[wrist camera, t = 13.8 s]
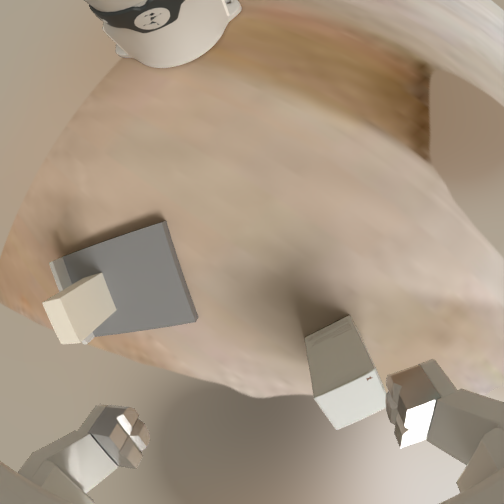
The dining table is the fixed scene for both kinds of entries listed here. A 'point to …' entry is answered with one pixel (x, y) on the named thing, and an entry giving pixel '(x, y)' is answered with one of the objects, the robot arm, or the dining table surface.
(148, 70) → the dining table surface
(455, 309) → the dining table surface
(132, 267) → the grey panel white edge
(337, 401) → the supplement box
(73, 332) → the carton
